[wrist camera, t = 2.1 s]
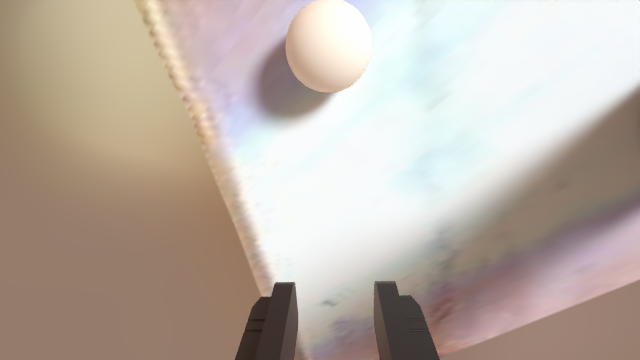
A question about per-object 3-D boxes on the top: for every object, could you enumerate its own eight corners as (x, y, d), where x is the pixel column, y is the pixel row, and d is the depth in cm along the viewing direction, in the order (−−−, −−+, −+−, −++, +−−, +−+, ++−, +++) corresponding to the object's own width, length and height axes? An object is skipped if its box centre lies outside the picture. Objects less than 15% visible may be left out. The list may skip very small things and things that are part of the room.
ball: (381, 32, 22) (396, 21, 16) (343, 102, 23) (347, 113, 18) (312, -9, 21) (305, -34, 16) (279, 67, 23) (263, 68, 17)
